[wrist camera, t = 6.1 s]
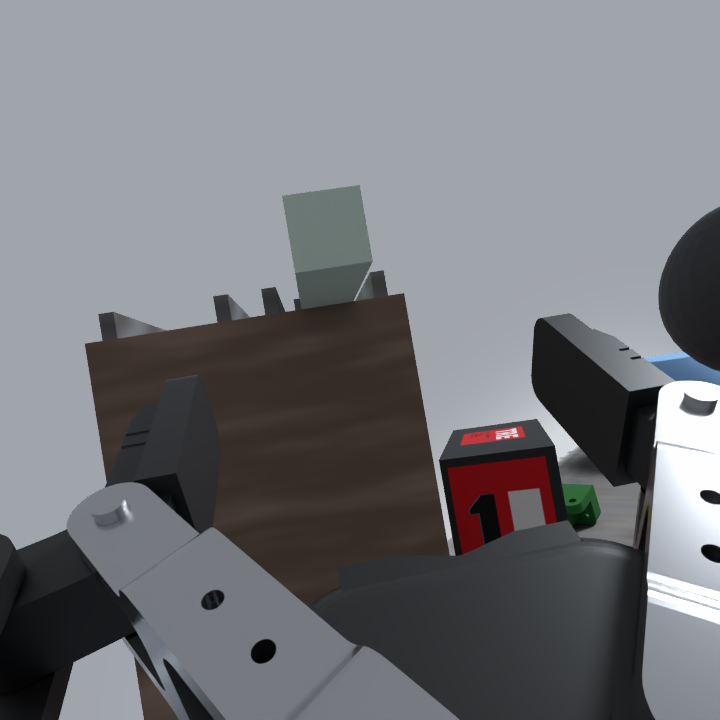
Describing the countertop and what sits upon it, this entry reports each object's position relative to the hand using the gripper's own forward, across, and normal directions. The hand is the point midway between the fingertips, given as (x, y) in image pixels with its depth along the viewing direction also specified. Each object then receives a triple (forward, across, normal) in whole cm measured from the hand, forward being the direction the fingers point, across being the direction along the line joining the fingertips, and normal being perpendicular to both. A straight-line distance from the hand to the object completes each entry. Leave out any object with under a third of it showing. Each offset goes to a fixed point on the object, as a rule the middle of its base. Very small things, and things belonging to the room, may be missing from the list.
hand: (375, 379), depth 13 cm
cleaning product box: (+17, -14, +42) cm, 48 cm away
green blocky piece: (+44, -31, +58) cm, 79 cm away
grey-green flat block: (+20, 0, +6) cm, 20 cm away
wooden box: (+8, +4, +36) cm, 37 cm away
